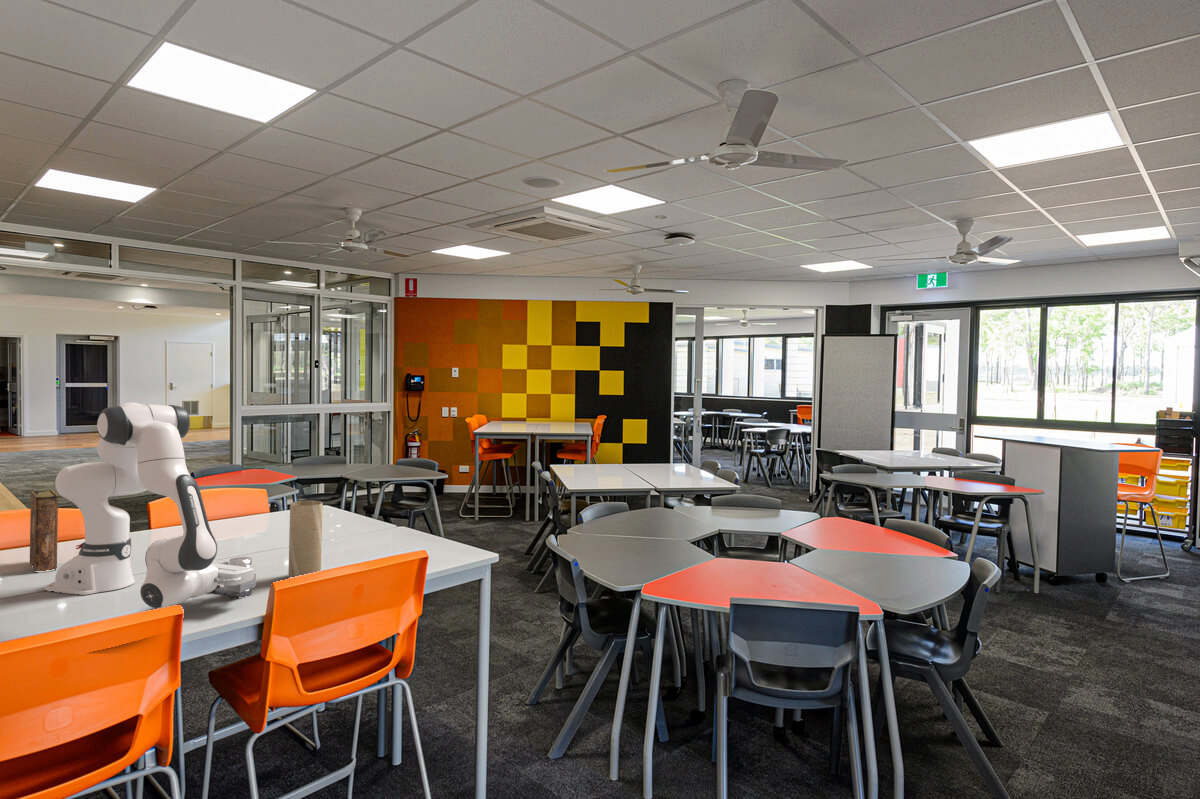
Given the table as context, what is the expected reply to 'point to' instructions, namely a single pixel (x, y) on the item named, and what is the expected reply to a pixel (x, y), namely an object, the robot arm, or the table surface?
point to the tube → (305, 537)
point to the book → (43, 530)
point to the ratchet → (231, 594)
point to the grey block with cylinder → (244, 586)
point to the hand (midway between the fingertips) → (239, 565)
